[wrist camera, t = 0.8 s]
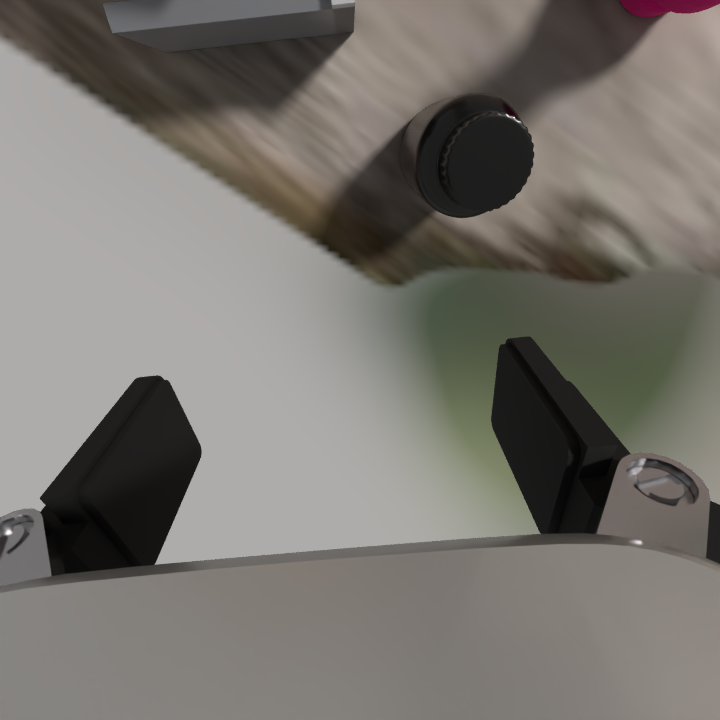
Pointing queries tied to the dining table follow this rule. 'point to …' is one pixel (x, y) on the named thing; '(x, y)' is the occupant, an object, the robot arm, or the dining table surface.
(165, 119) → the dining table surface
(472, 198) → the supplement bottle
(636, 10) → the pepper mill
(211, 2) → the bay
